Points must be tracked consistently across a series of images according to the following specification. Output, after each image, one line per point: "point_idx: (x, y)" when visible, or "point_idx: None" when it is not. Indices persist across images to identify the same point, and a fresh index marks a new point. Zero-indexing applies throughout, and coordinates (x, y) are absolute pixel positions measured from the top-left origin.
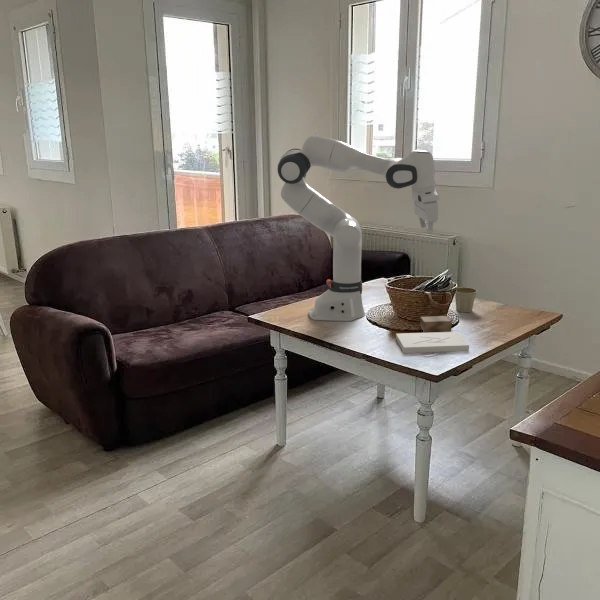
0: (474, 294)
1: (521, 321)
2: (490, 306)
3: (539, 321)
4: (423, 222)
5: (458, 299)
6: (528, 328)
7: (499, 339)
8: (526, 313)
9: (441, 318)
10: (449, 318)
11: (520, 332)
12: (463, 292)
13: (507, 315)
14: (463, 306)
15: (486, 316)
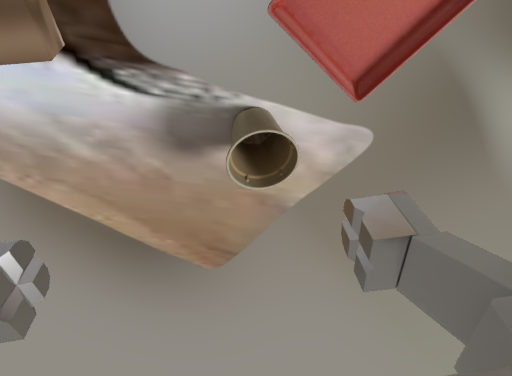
0: (237, 176)
1: (165, 220)
2: (280, 185)
3: (169, 244)
4: (404, 274)
5: (243, 127)
6: (116, 224)
7: (4, 164)
8: (223, 234)
9: (6, 32)
10: (18, 63)
11: (81, 209)
12: (289, 152)
13: (208, 205)
14: (233, 130)
15: (199, 166)
